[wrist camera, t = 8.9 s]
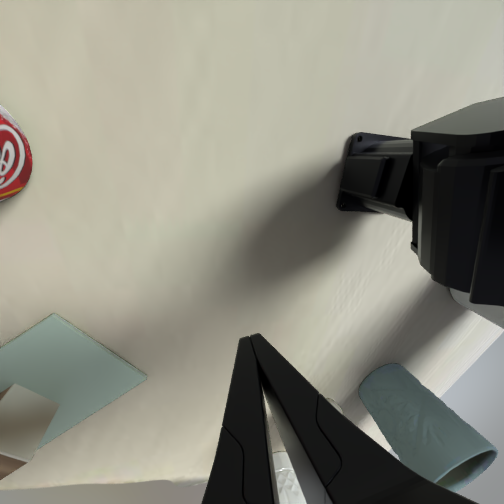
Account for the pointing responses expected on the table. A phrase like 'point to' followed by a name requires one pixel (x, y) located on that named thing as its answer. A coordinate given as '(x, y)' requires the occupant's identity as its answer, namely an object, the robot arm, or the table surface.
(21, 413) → the pillar
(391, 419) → the teal cup
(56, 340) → the mat
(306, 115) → the table surface
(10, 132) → the soda can
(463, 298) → the cylinder vase
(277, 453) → the white cup
